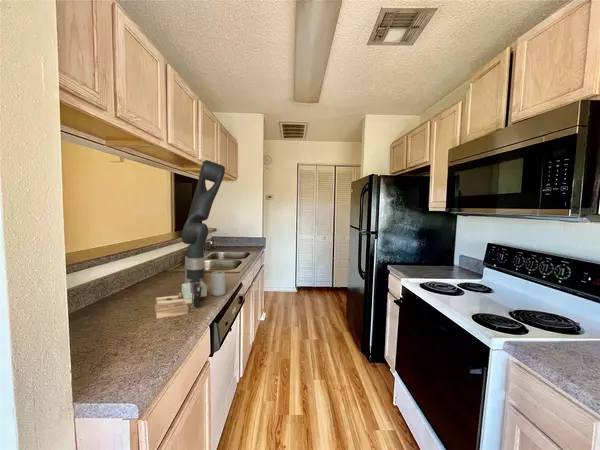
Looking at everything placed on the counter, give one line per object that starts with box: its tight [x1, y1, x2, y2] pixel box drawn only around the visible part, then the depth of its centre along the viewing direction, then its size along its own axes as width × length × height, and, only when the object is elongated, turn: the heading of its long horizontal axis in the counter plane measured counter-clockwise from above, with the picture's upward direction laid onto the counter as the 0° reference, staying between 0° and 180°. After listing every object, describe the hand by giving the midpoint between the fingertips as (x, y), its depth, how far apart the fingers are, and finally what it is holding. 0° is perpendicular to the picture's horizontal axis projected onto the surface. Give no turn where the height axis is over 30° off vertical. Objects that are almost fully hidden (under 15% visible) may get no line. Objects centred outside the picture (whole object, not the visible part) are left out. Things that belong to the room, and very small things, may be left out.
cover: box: [181, 280, 208, 299], centre depth 137 cm, size 8×10×5 cm
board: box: [155, 291, 192, 305], centre depth 132 cm, size 10×15×4 cm, turn 122°
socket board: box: [154, 301, 189, 320], centre depth 120 cm, size 10×12×2 cm
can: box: [210, 270, 227, 297], centre depth 145 cm, size 8×8×12 cm
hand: (195, 304), depth 126 cm, fingers open, 3 cm apart
